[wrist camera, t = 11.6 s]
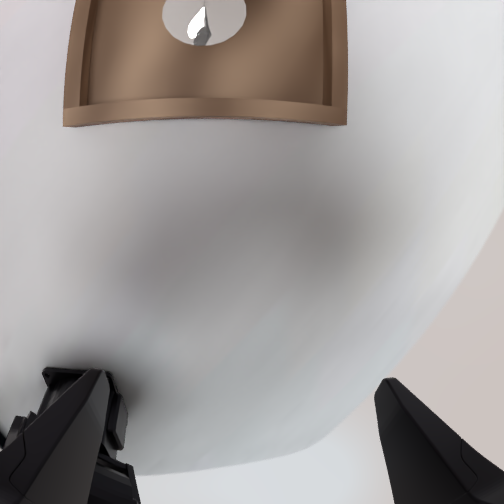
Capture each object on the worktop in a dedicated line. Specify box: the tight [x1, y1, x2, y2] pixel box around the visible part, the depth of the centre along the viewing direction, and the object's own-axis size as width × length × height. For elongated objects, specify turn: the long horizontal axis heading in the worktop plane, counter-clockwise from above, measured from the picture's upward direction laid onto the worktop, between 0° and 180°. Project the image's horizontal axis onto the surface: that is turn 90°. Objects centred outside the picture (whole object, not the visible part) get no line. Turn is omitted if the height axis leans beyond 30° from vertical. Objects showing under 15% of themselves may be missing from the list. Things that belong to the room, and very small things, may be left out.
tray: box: [63, 0, 348, 127], centre depth 14 cm, size 16×14×2 cm
